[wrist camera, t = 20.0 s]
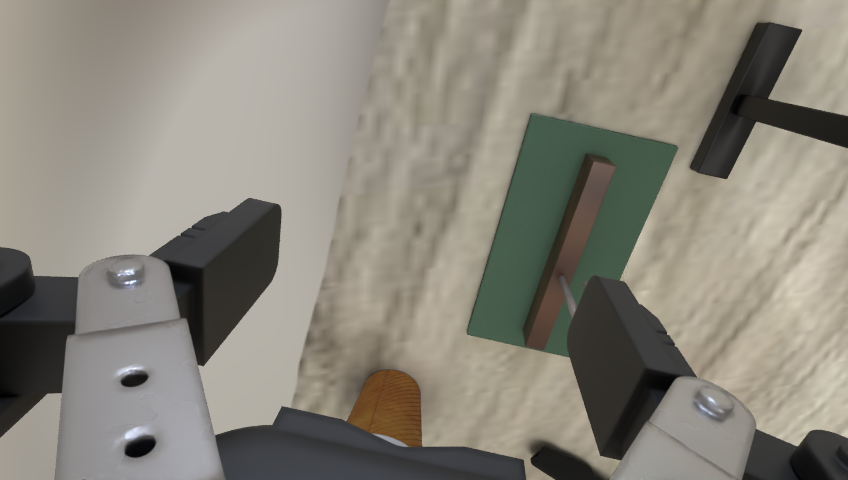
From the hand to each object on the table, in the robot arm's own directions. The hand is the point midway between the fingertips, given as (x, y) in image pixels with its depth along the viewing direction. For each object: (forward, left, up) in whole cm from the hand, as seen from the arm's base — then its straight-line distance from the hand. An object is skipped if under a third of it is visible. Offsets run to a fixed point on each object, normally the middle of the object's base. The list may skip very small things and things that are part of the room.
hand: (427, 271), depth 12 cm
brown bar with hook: (+10, +12, -27) cm, 32 cm away
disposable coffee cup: (+31, 0, -28) cm, 42 cm away
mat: (+10, +12, -28) cm, 32 cm away
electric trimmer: (+37, +24, -28) cm, 52 cm away
